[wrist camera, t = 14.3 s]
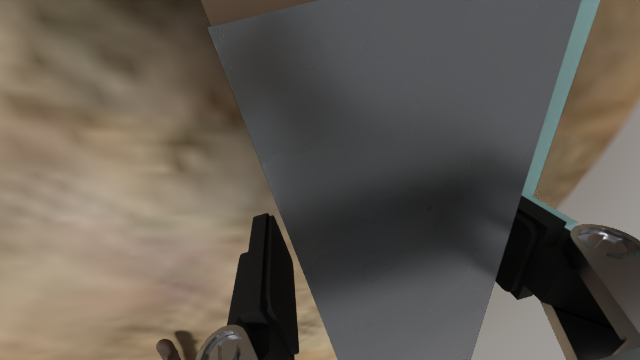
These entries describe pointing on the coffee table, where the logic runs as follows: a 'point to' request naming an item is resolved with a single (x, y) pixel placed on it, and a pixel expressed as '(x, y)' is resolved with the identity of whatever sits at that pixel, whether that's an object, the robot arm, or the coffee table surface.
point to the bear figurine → (167, 350)
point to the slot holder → (560, 102)
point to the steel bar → (398, 153)
